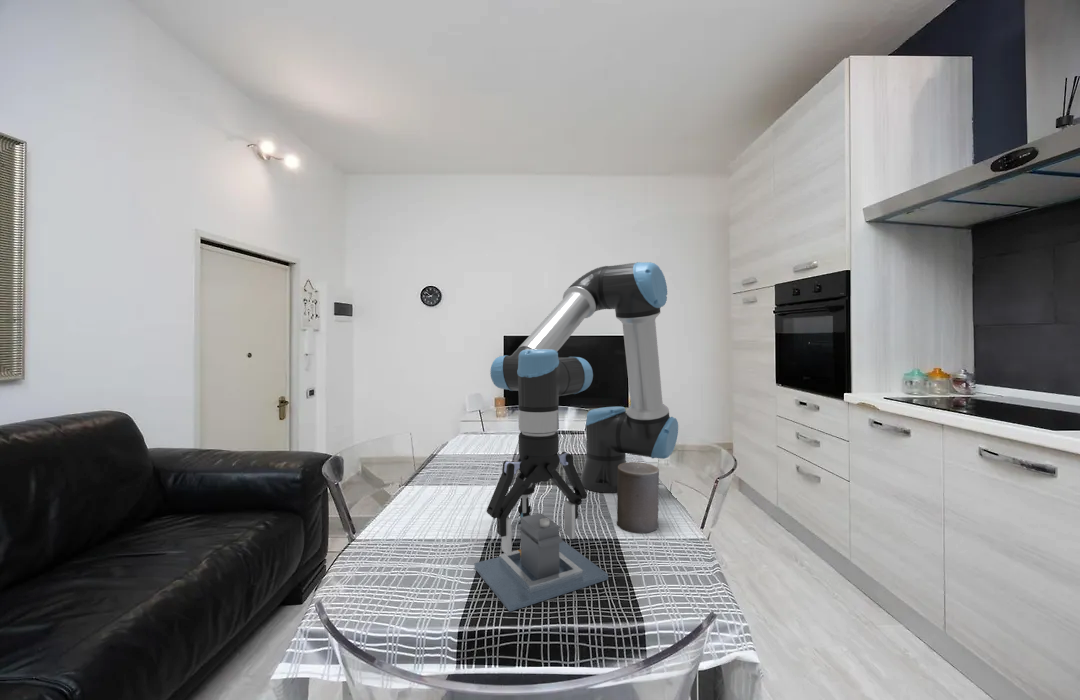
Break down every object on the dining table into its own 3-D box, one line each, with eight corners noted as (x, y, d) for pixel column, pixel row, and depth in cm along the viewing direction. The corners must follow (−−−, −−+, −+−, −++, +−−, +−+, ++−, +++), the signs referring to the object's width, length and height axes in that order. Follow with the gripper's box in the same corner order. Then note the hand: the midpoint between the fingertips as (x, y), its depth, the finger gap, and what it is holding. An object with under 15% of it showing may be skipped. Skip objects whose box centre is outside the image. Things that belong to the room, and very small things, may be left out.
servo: (538, 555, 91) (538, 506, 91) (562, 576, 83) (562, 522, 83) (518, 561, 89) (518, 510, 89) (541, 583, 81) (541, 527, 81)
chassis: (561, 544, 98) (561, 534, 98) (608, 579, 84) (608, 567, 84) (474, 567, 88) (473, 556, 88) (509, 612, 74) (509, 598, 74)
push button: (535, 529, 106) (535, 486, 106) (512, 529, 106) (512, 486, 106) (535, 517, 113) (535, 477, 112) (514, 517, 113) (513, 477, 112)
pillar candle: (608, 525, 108) (609, 462, 107) (630, 512, 115) (631, 454, 114) (645, 537, 101) (646, 471, 101) (666, 524, 108) (667, 461, 108)
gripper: (582, 422, 95) (583, 523, 95) (468, 435, 82) (469, 551, 83) (604, 428, 88) (604, 536, 89) (483, 444, 76) (485, 569, 77)
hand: (539, 544), depth 86 cm, fingers open, 13 cm apart
